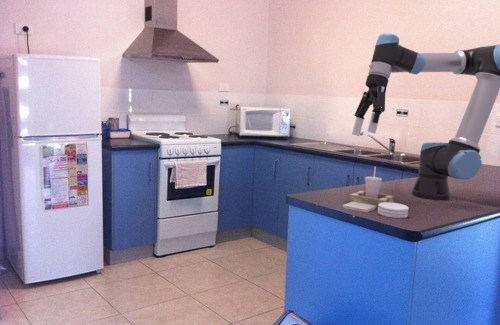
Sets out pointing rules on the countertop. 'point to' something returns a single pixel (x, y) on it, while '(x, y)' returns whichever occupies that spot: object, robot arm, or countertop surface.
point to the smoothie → (373, 185)
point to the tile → (359, 207)
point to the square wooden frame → (361, 198)
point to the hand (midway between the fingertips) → (363, 133)
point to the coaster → (393, 210)
